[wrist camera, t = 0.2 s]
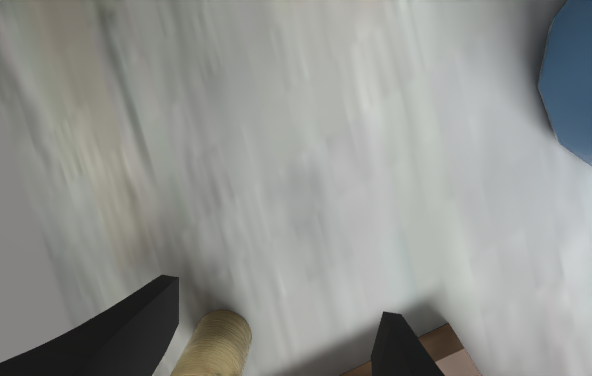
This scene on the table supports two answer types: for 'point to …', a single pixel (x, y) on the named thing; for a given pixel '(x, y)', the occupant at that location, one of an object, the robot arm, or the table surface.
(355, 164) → the table surface
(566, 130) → the wine bottle
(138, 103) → the table surface
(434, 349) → the jig plate
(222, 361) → the brass peg
